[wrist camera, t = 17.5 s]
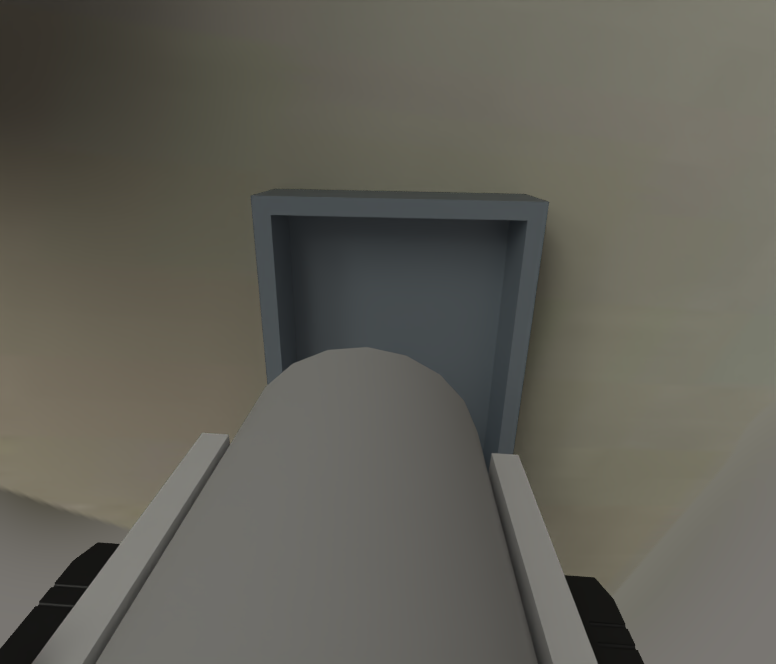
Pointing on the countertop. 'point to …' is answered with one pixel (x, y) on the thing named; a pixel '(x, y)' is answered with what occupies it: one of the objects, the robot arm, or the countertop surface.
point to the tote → (406, 286)
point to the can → (338, 533)
